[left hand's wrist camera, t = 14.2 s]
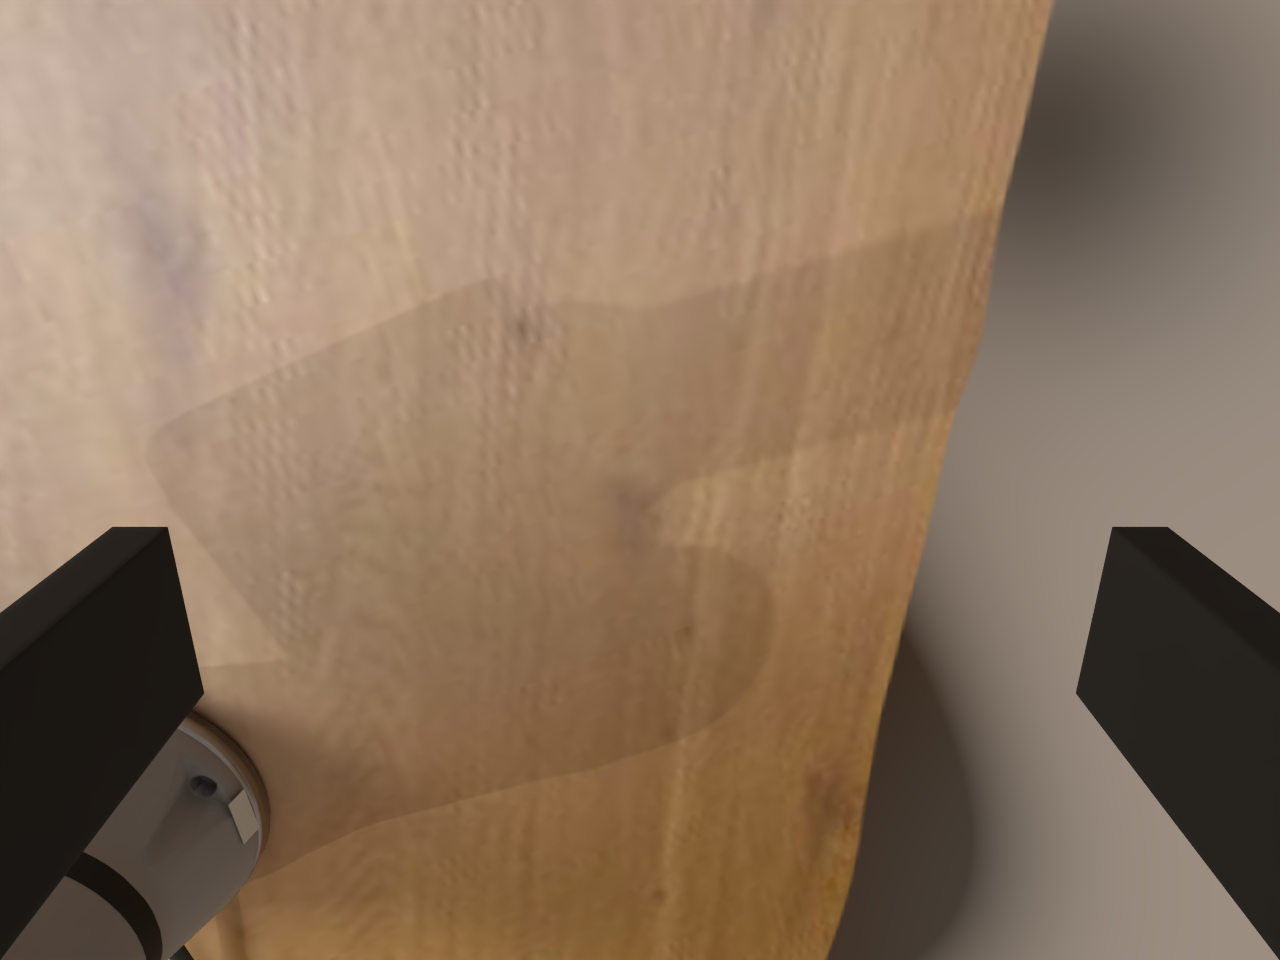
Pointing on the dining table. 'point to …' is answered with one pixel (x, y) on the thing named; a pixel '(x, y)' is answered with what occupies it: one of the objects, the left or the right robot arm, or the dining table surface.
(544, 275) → the dining table surface
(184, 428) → the dining table surface
